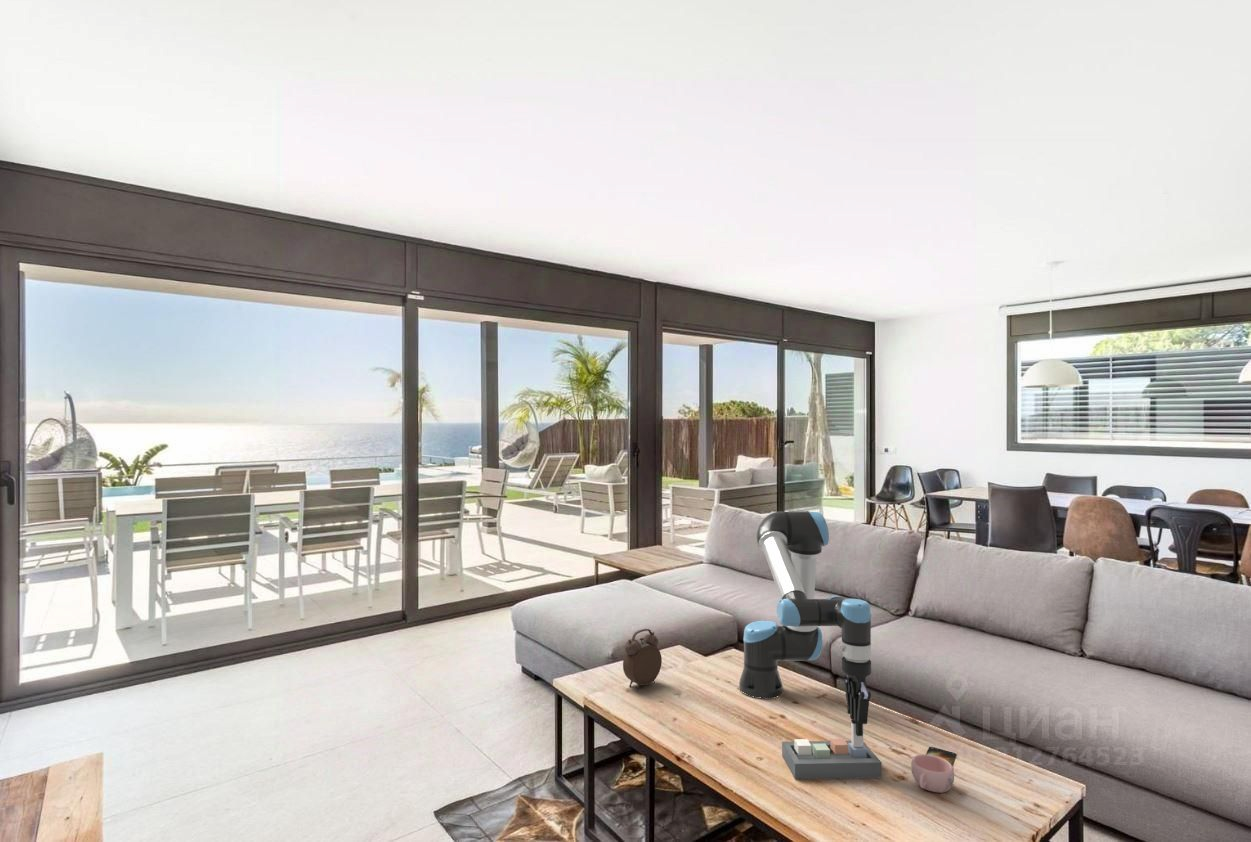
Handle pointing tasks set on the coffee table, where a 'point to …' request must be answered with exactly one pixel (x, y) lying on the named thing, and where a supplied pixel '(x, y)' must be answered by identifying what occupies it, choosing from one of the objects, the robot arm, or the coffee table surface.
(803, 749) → the key
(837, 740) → the key
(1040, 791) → the coffee table surface
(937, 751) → the smartphone
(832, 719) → the coffee table surface
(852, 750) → the key
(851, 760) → the gray rectangular tray
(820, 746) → the key
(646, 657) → the alarm clock
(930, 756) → the mug
